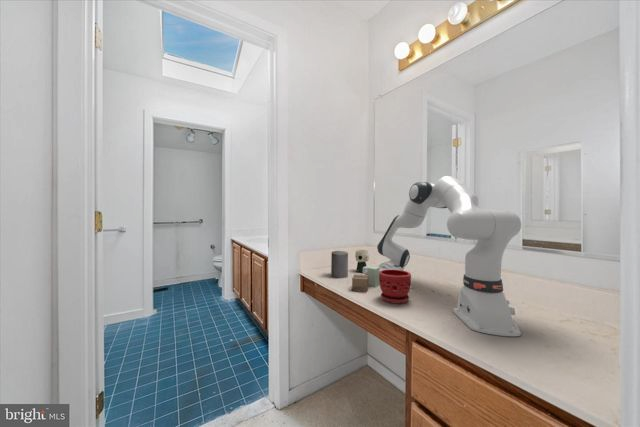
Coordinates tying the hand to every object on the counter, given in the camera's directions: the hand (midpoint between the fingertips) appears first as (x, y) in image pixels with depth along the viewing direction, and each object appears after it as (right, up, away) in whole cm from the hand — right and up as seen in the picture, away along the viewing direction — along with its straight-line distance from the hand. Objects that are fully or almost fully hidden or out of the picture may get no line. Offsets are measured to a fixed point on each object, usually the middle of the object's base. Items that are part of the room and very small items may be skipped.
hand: (374, 275), depth 128 cm
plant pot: (+4, -6, -20) cm, 21 cm away
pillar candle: (-16, -5, +17) cm, 24 cm away
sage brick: (0, -5, 0) cm, 5 cm away
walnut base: (-8, -5, -6) cm, 11 cm away
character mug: (-2, -4, +26) cm, 27 cm away
